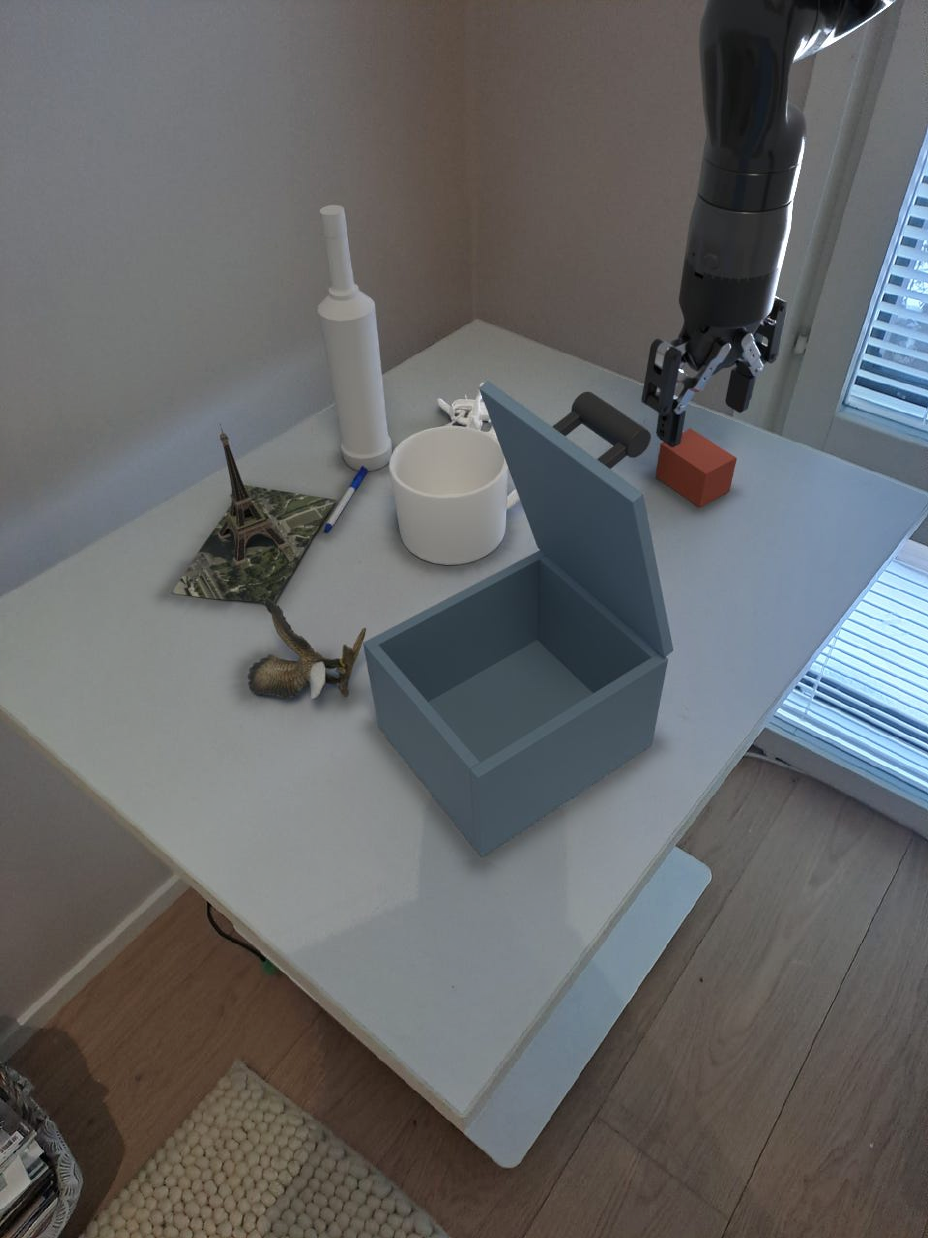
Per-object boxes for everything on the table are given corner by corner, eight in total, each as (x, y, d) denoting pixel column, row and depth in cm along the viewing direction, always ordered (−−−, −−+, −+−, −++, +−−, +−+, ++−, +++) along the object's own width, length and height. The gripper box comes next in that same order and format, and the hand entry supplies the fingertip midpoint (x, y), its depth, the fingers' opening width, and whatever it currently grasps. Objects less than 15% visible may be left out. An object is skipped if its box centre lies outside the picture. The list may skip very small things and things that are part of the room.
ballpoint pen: (362, 467, 91) (361, 459, 91) (370, 468, 91) (369, 460, 91) (323, 533, 85) (321, 525, 84) (332, 535, 84) (330, 527, 84)
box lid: (632, 502, 46) (704, 443, 47) (477, 387, 54) (541, 338, 54) (665, 658, 59) (720, 611, 60) (537, 547, 67) (587, 507, 68)
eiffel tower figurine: (276, 611, 78) (242, 489, 68) (171, 593, 80) (123, 472, 70) (337, 502, 88) (314, 383, 78) (242, 489, 90) (209, 370, 80)
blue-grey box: (481, 858, 61) (477, 778, 54) (378, 727, 69) (362, 642, 62) (652, 744, 67) (668, 658, 60) (538, 636, 75) (541, 548, 67)
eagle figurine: (375, 635, 74) (274, 601, 75) (361, 622, 67) (249, 584, 68) (343, 723, 73) (241, 688, 74) (325, 720, 66) (213, 680, 67)
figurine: (511, 450, 93) (433, 448, 93) (511, 406, 98) (437, 404, 98) (512, 426, 91) (433, 423, 91) (512, 382, 96) (437, 380, 96)
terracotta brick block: (729, 491, 86) (737, 457, 83) (699, 507, 85) (706, 473, 82) (685, 461, 90) (690, 427, 87) (655, 476, 88) (660, 443, 85)
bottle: (349, 441, 94) (309, 196, 76) (397, 443, 94) (368, 197, 76) (338, 471, 91) (293, 222, 73) (388, 474, 90) (355, 223, 72)
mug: (403, 576, 80) (394, 505, 74) (391, 502, 87) (383, 432, 81) (550, 556, 81) (553, 485, 75) (527, 484, 88) (528, 414, 82)
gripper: (761, 211, 75) (727, 380, 87) (634, 261, 70) (616, 434, 82) (833, 242, 71) (787, 415, 83) (703, 298, 66) (674, 474, 78)
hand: (702, 424), depth 82 cm, fingers open, 8 cm apart
